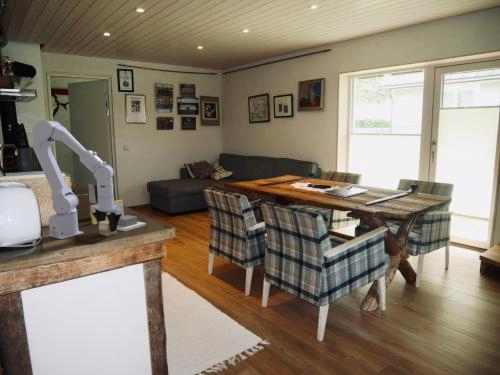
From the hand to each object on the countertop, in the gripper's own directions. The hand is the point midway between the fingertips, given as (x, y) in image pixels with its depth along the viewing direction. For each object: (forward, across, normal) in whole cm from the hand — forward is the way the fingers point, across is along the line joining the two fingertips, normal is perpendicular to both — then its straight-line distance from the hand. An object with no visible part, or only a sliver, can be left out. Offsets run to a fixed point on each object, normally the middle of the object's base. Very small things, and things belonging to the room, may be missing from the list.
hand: (107, 230), depth 141 cm
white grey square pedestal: (+1, +2, -11) cm, 11 cm away
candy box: (+2, +18, -14) cm, 23 cm away
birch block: (+2, 0, 0) cm, 2 cm away
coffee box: (+2, +26, -17) cm, 31 cm away
